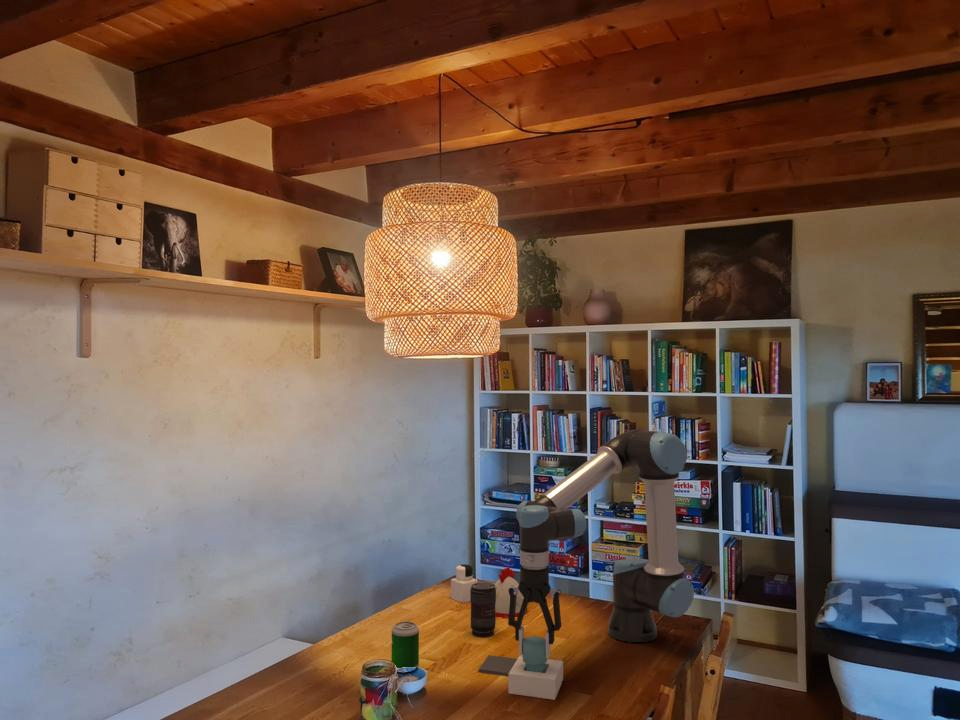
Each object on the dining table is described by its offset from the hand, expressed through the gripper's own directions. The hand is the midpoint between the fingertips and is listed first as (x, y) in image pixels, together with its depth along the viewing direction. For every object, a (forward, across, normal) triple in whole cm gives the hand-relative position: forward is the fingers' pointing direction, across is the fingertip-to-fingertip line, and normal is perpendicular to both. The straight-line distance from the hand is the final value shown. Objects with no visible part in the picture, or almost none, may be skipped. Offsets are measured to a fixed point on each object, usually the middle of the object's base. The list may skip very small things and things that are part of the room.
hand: (534, 654), depth 184 cm
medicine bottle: (+8, -40, +62) cm, 74 cm away
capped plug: (+7, 0, 0) cm, 7 cm away
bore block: (+8, 0, 0) cm, 8 cm away
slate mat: (+8, -12, +9) cm, 17 cm away
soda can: (+8, -37, 0) cm, 38 cm away
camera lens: (+8, -24, +32) cm, 41 cm away
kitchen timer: (+9, -22, +54) cm, 59 cm away
